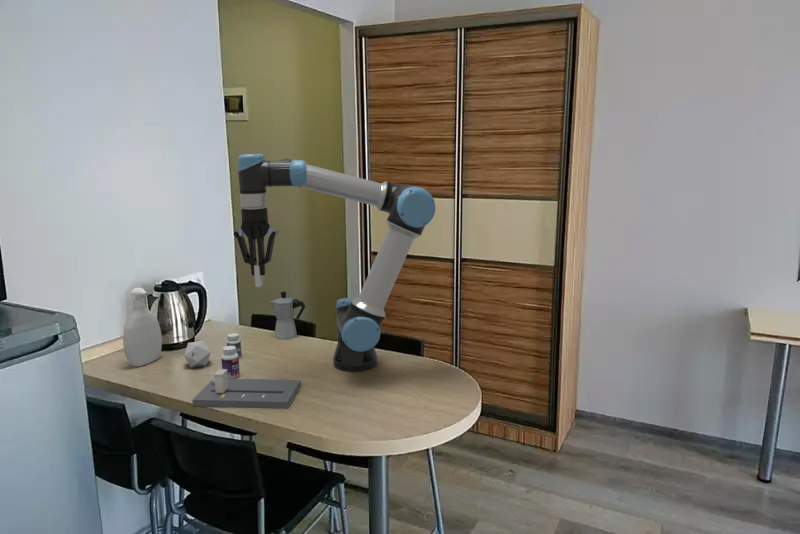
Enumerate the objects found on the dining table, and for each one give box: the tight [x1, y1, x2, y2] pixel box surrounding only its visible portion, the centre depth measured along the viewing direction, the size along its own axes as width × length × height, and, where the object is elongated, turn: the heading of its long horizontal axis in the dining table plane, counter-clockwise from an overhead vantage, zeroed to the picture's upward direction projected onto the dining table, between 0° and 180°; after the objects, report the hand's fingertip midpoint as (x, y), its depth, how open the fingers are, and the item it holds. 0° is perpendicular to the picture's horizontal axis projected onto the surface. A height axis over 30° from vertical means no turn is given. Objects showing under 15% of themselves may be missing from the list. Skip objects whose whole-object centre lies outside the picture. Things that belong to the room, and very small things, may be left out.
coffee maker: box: [268, 290, 306, 340], centre depth 232 cm, size 15×9×18 cm, turn 80°
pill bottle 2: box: [220, 345, 240, 379], centre depth 193 cm, size 5×5×10 cm
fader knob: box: [213, 368, 229, 393], centre depth 177 cm, size 3×4×6 cm, turn 175°
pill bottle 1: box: [226, 332, 242, 359], centre depth 211 cm, size 5×5×8 cm
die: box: [183, 340, 211, 369], centre depth 204 cm, size 8×9×10 cm
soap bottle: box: [122, 287, 163, 368], centre depth 204 cm, size 14×8×27 cm, turn 151°
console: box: [191, 376, 302, 409], centre depth 179 cm, size 28×16×4 cm, turn 85°
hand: (259, 285), depth 179 cm, fingers closed
